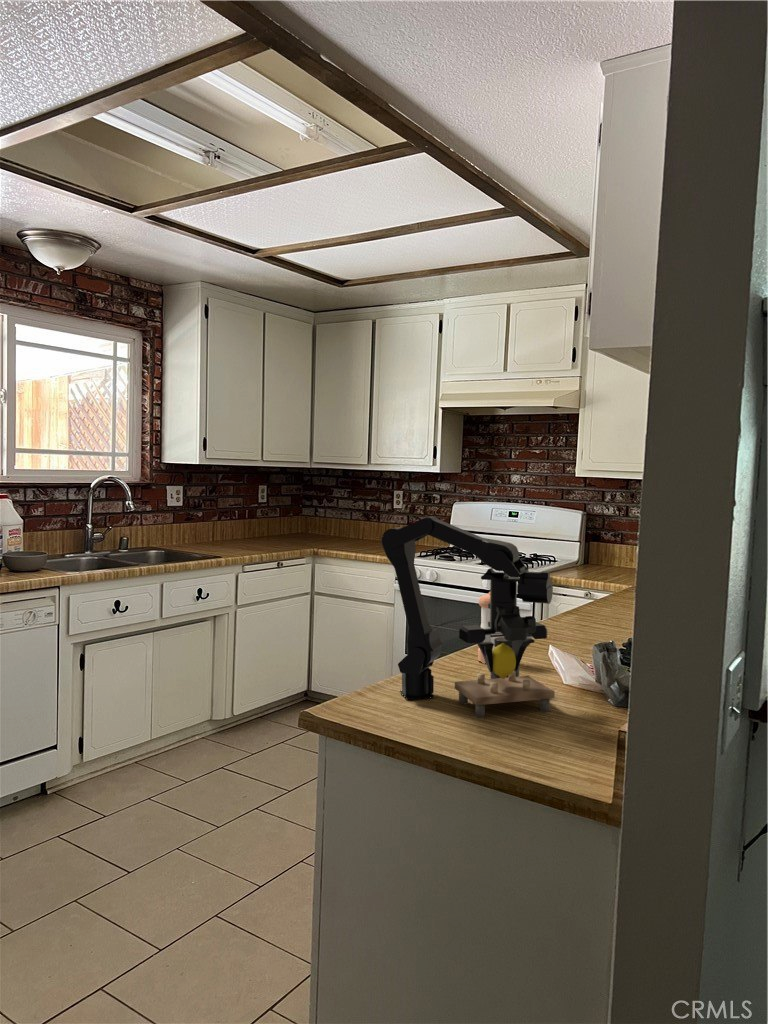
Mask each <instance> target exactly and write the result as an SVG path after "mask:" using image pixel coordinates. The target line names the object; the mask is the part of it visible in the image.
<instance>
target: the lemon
mask: <svg viewBox="0 0 768 1024" xmlns="http://www.w3.org/2000/svg"><path fill="white" fill-rule="evenodd" d="M492 657H493V672H494V673H495V674H496V675H498V676H500V677H501V678H502V679H505V678H506V677H507V676H509V675H511V674H512V673H513V671H514V669H515V666H516V658H515V653H514V651H513V649H512V648H511V647H509V646H508V645H506V644H505V643H502V644H501V645H498V646H497V647H495V648H494V650H493V651H492Z"/></svg>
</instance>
